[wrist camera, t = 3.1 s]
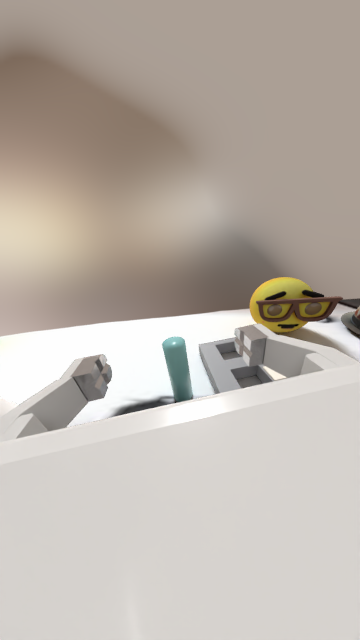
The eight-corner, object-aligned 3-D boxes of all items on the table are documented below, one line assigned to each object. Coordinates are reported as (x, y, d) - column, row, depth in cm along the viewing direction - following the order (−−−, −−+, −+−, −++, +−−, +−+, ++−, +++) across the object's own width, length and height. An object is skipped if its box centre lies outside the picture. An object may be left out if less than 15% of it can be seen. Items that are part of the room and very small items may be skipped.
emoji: (252, 344, 39) (257, 289, 32) (243, 318, 53) (245, 275, 46) (325, 346, 35) (348, 282, 28) (295, 317, 48) (305, 269, 42)
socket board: (227, 421, 23) (227, 407, 22) (199, 353, 38) (198, 343, 37) (303, 403, 24) (308, 389, 22) (247, 344, 39) (247, 333, 38)
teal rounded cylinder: (187, 405, 26) (177, 352, 21) (170, 398, 28) (157, 347, 23) (195, 389, 29) (188, 338, 24) (179, 384, 31) (170, 335, 26)
